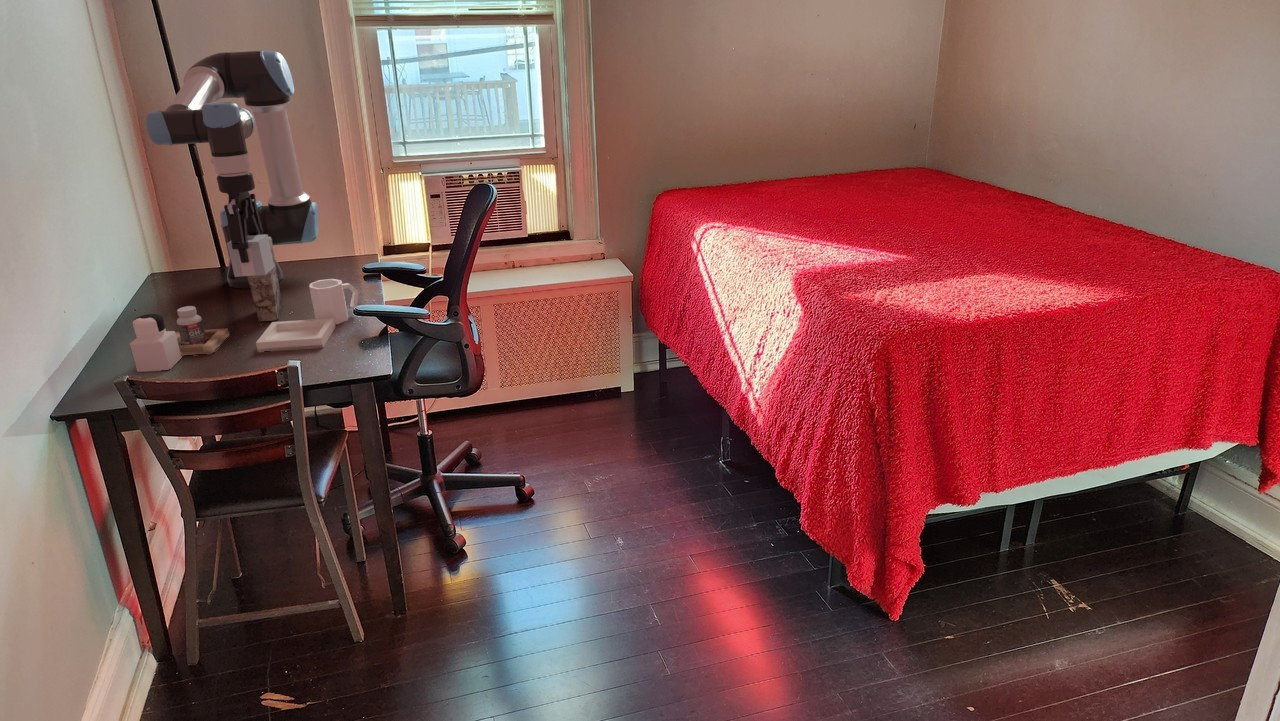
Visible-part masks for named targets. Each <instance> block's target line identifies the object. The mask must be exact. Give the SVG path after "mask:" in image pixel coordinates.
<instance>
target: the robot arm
mask: <svg viewBox="0 0 1280 721" xmlns="http://www.w3.org/2000/svg"><path fill="white" fill-rule="evenodd" d="M294 94H295V86H294V80H293V77H292V73H291V70H290V67H289V64H288V63H287V60H286V58H284V56H283V54H281V53H280V52H278V51H275V50H250V51H235V52H234V51H233V52H232V51H231V52H227V51H226V52H218V53H215V54H214V53H213V54H211V55H209V56H207V57H204V58H202V59H200V60H199V61H197V62H195V63H194V64H193V65H191V67H190V68H188V70H187V71H186V72H185V74H184V76H183V85H182V86H181V87H180V89H179V91H177V93H176V95H175V96H174V98H173V99H172V100H171V102H170V103H169V105H168V106H167V108H166V109H165V110H156V111H150V112H148V113H147V115H146V116H145V128H146V131H147V134H148V137H149V139H150V141H151V142H152V143H153V144H154V145H157V146H176V145H191V144H207V143H208V145H209V149H210V150H209V151H210V153H211V158H212V159H211V160H210V162H211V164H213V166H214V171H215V174H217V177H216V180H217V185H218V186H217V187H218V190H219V192H220V193H223V194H226V195H228V196H227V197H228V204H224V205H223V206H224V207H223V209H222V210H221V211H220V214H219V218H220V224H221V225H220V226H221V228H222V233H223V237H224V243H225V245H226V249H227V254H228V259H229V260H228V269H227V277H226V278H227V283H228V286H229V287H231V288H235V289H251V288H250V285H249V281H248V278H247V276H253V275H256V272H255V267H254V263H253V258H252V253H251V249H250V248H248V239H247V235H265V234H268V237H271V239H272V243H273V246H284V245H285V246H286V245H298V244H302V245H303V244H307V243H313V242H315V241H317V239H318V237H319V233H320V232H319V231H320V212H319V210H320V209H319V206H318V203H317V202H315V201H312V200H311V197H310V194H308V193H306V192H305V191H304V190H303V185H302V180H301V176H300V170H299V165H298V160H297V155H296V150H295V145H294V141H293V136H292V131H291V126H290V121H289V117H288V113H287V107H288V105H289V104H290V103H291V98H290V97H292V96H293V95H294ZM239 98H243V100H244V104H245V106H246V107H248V109H250V110H251V111H252V113H253V114H252V113H251V112H250V111H249V110H248V109H246V108H244V107H242V106H238V104H237V103H236V102H232V101H220V100H221V99H239ZM255 129H256V131H257V135H258V140H259V144H260V149H261V152H262V154H261V155H262V158H263V162H264V163H263V164H264V166H265V171H266V176H267V180H268V184H269V188H270V193H271V195H270V196H269V197H268V199H267V204H268V205H263V203H262V202H261V200H257V199H256V195H255V193H250V192H251V191H253V190H255V187H256V185H255V180H254V176H253V173H252V172H251V171H252V165H251V160H250V156H249V155H250V154H249V152H248V148H247V142H246V140H247V139H249V138H250V137H251V136H252V134H254V131H255ZM230 241H231V243H232V249H237V251H238V255H239V260H240V264H241V269H242V273H243V276H239V277H235V276H234V272H233V267H232V263H231V258H230V254H229V249H228V245H227V243H228V242H230ZM275 264H276V271H277V277H278V282H281V281H282V279H283V278H284V275H283V270H282V268H281V267H280V265H279V263H278V261H277V259H275Z"/></svg>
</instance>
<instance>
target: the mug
mask: <svg viewBox="0 0 1280 721" xmlns="http://www.w3.org/2000/svg"><path fill="white" fill-rule="evenodd" d="M308 287H309V292H310V298H311V303H312V308H313V312H314V314H313V315H314V318H315V319H327V318H334V322H335V326H336V325H339V324H341V323H345V322H346V321H347V322H348V320H349V313H348V309H347V308H348V307H347V302H346V298H345V292H344V290H345V289H349V291H351V292H352V296H351V299H350V305H349V306H350V308H352V309H353V308H355V307H358V301H359V296H360V291H359V290H358V289H356V288H355V287H354V286H353V285H352V284H350V283H349V282H346V283H343V281H342V280H341V279H337V278H336V279H335V278H328V279H327V278H326V279H319V280H316V281H314V282H311V283H309V285H308ZM355 309H356V308H355Z"/></svg>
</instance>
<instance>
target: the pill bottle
mask: <svg viewBox="0 0 1280 721" xmlns="http://www.w3.org/2000/svg"><path fill="white" fill-rule="evenodd" d="M197 311H198V310H197V308H196V307H195V305H187V306H183V307H180V308H179V307H178V309H177V310H176V313H177V316H178V318H177V320H176V325H177V330H178V332H179V333H180V337H181V341H182V345H195V344H206V343H207V341H208V340H207V339H206V335H205V331H204V330H205V327H204V326H205V325H204V324H203V319H202V316H201V315H199V314H197Z"/></svg>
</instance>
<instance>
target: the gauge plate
mask: <svg viewBox="0 0 1280 721" xmlns="http://www.w3.org/2000/svg"><path fill="white" fill-rule="evenodd" d="M204 331H205V335H206V339H209V340H207V343H206V344H195V345H180V344H182V341H181V337H180V333H179V331H176V332H175V334H176V337H177V341H178V345H179V349H180V352H181V355H183V354H197V353H213V352H214V351H215V349H216V348H217V347H219V346H220V344H221V343H222V342H223V341H224V340H225V339H226V338H227V337H228V336H229V335H230V332H229V328H214V329H212V328H211V329H204ZM229 337H230V336H229ZM229 337H228V338H229ZM228 338H227V339H228ZM227 339H226V340H227ZM226 340H225V341H226ZM220 347H221V346H220ZM220 347H219V348H220ZM215 352H216V351H215Z"/></svg>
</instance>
